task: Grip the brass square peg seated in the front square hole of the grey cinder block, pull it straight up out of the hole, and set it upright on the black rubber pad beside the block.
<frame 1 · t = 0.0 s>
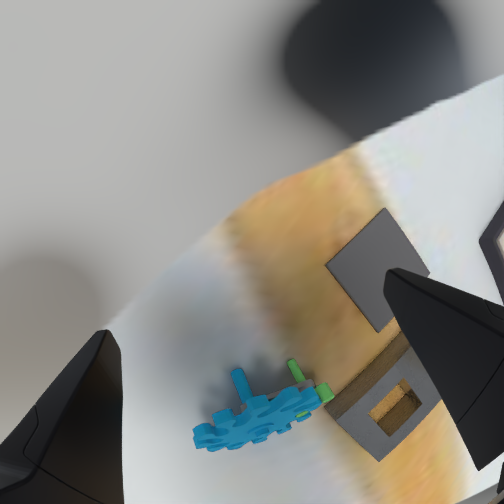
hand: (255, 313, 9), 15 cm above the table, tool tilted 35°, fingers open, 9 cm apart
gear: (258, 400, 23), on the table
grey cinder block: (405, 372, 25), on the table
rubber pad: (382, 269, 25), on the table
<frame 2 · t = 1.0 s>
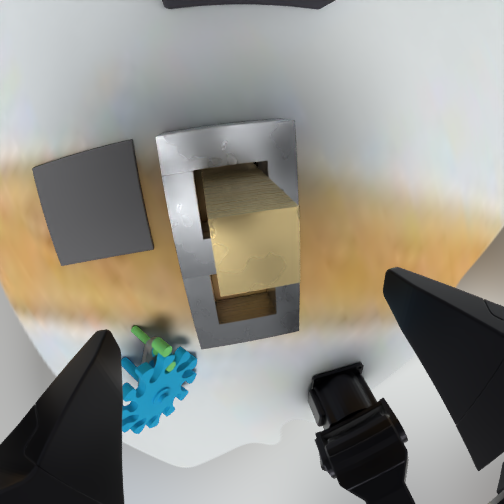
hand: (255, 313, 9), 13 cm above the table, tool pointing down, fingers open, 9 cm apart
brass peg: (228, 188, 20), resting in grey cinder block
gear: (159, 357, 27), on the table
grey cinder block: (233, 233, 22), on the table
rubber pad: (91, 206, 19), on the table
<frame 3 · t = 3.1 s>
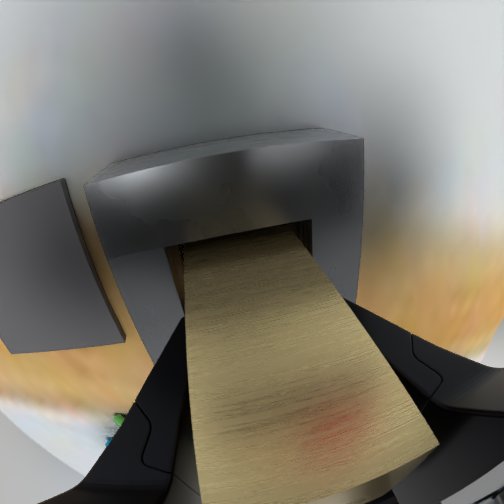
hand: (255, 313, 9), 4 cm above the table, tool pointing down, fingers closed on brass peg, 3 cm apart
brass peg: (234, 250, 12), resting in grey cinder block, touching gripper
grey cinder block: (245, 315, 14), on the table
rubber pad: (26, 283, 11), on the table
when the fingers open (6 cm above the table, at t = 7.5 s): brass peg drops 2 cm, resting on rubber pad.
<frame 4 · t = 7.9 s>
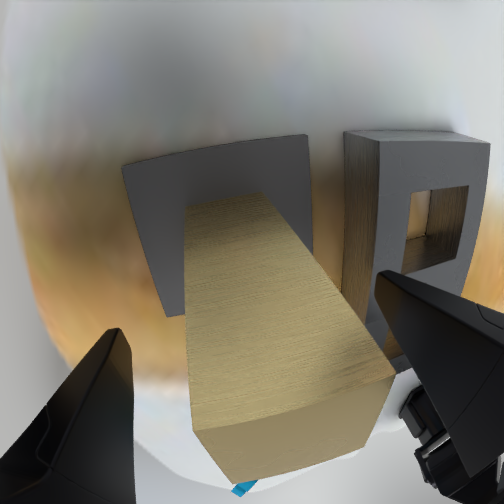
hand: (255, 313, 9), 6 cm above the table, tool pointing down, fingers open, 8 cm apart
brass peg: (229, 233, 14), resting on rubber pad
grey cinder block: (397, 260, 17), on the table
rubber pad: (227, 230, 14), on the table
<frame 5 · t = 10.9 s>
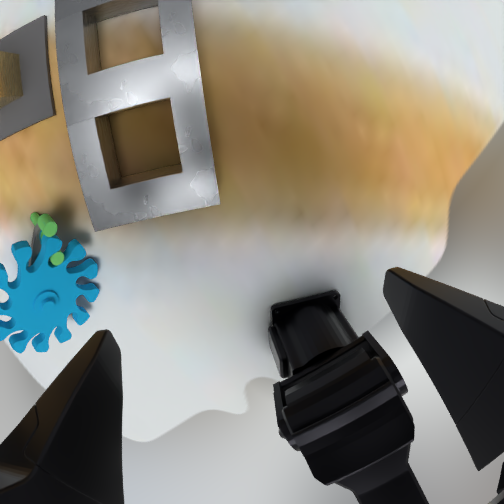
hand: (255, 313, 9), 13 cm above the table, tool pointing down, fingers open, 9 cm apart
brass peg: (3, 84, 12), resting on rubber pad
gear: (60, 264, 20), on the table
grey cinder block: (136, 87, 16), on the table
rubber pad: (5, 85, 12), on the table
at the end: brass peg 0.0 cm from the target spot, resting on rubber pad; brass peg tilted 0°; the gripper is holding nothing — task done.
